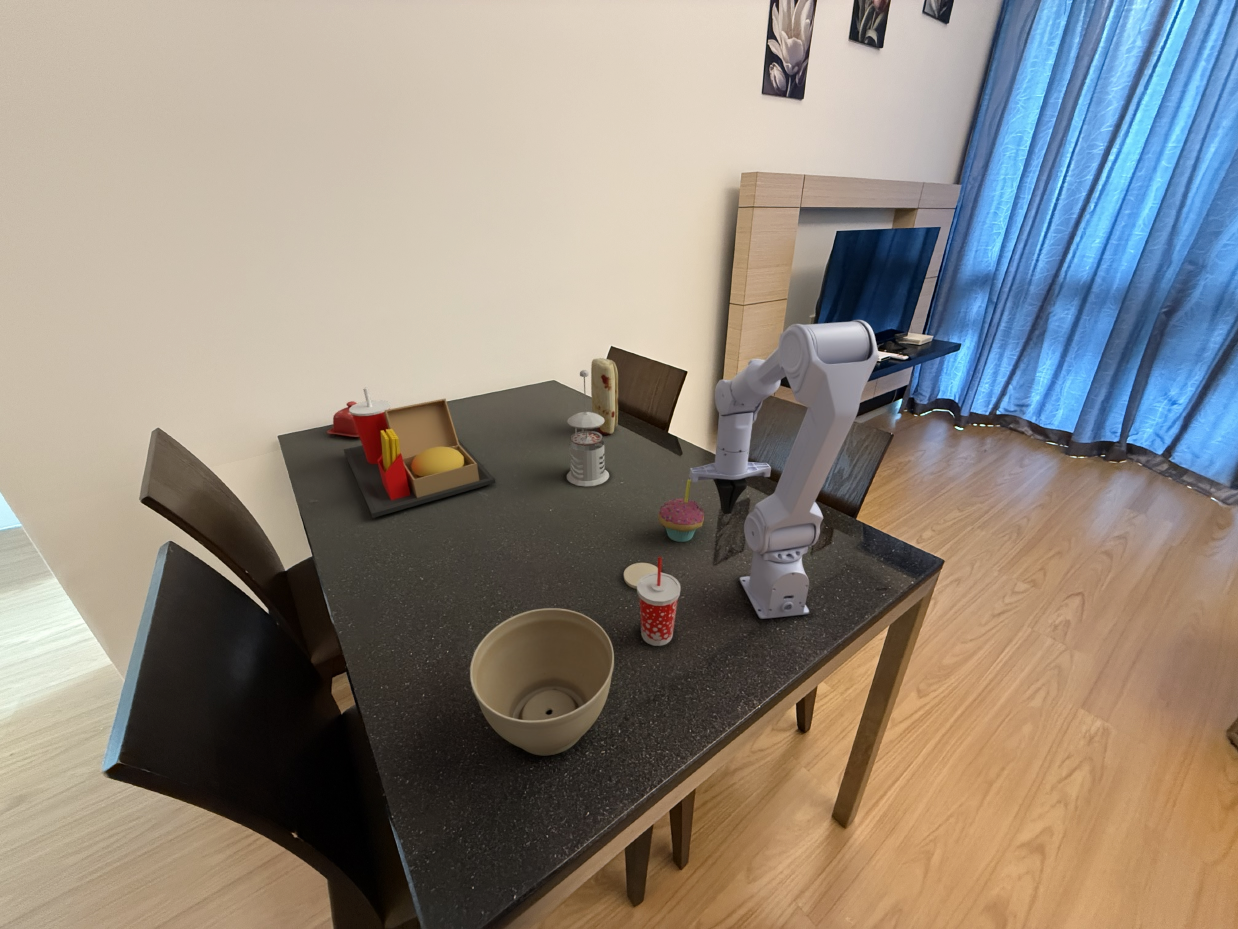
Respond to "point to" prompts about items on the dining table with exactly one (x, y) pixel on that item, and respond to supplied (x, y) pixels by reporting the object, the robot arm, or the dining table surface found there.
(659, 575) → the beverage cup
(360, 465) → the fast food meal
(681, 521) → the cupcake
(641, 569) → the coaster
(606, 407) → the food model
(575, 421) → the french press
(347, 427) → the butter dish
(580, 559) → the dining table surface
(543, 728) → the planter bowl
